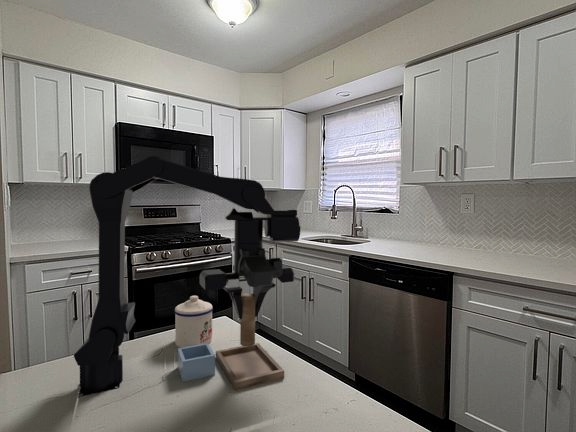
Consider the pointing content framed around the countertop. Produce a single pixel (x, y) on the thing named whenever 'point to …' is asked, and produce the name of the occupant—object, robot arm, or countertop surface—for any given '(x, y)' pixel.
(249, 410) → the countertop surface
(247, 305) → the dowel pin
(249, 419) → the countertop surface
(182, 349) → the holder cup
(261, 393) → the countertop surface
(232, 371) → the tray
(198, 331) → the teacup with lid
